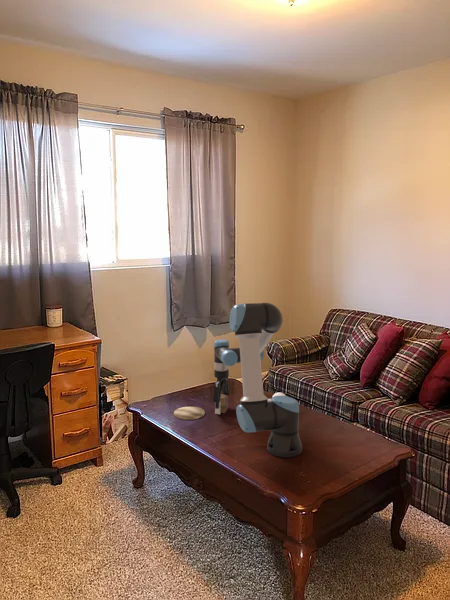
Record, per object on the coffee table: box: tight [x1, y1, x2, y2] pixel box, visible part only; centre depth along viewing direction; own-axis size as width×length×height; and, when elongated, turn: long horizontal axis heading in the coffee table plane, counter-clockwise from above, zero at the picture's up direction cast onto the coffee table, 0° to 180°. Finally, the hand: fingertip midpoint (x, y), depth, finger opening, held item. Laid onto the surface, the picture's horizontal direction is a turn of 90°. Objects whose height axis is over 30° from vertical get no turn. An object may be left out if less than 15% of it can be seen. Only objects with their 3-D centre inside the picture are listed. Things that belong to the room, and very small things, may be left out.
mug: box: [267, 392, 287, 402], centre depth 259 cm, size 12×10×8 cm
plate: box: [173, 406, 206, 421], centre depth 254 cm, size 16×16×1 cm
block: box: [220, 393, 229, 414], centre depth 258 cm, size 5×5×8 cm
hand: (221, 410), depth 258 cm, fingers open, 10 cm apart
